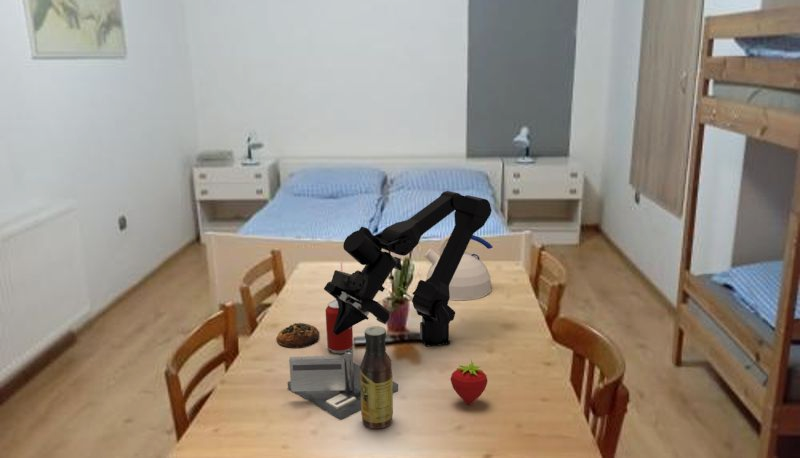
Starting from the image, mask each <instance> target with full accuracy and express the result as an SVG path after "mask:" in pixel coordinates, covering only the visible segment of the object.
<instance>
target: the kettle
mask: <svg viewBox="0 0 800 458" xmlns="http://www.w3.org/2000/svg"><path fill="white" fill-rule="evenodd" d="M450 235H451V233H449V234H448V235H446V236H444V238H443V239H442V240H441V241H440V244H439V247H438V251H439V252H438V253H439V254H437V252H435V251H434V250H433V249H432V248H429V249H428V250H427V252H425V254H424V257H423V258H426V260H427V261H429V262H430V263H431V264H432V265H431V266H430V267H429V269H428V271H427V274H426V280H427V279H429V278H430V277H431V275H432V273H433V271H434V269H435V267H436V265H437V263H438V261H439V259H440V256H441V254H442V252H443V250H444V248H445V246H446V244H447V242H448V240H449V237H450ZM470 240H473V241H476V242H478V243H479V244H481V245H482V246H484V247H486V248H487V249H488V250H490V249H492V248H493V247H494V246H493V244H491V243H490V242H489V241H487V240H485V239H484V238H481V237H479V236H478V235H477V236H476V235H474V234H473V235H472V237H471V239H470ZM480 258H481V257H480V256H479V255H477V254H475V253H470V252H466V251H465V252H464V254H463V256H462V259H461V261H460V263H459V265H458V267H457V269H456V271H455V273H454V276H453V278H452V280H451V282H450V284H449V294H450V298H449V301H472V300H477V299H480V298H483V297H486V296H487V295H489V294H490V293H491V291H492V282H491V275H490V273H489V272H490V271H489V269H488V267H487V266H486V264H485V263H484V262H483V261H482V260H481V259H480Z"/></svg>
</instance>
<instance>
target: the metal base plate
mask: <svg viewBox="0 0 800 458" xmlns="http://www.w3.org/2000/svg"><path fill="white" fill-rule="evenodd" d="M360 366H361V364H357V363H355V362H354V361H353V370H354V390H351V391H349V390H347V388H346V390H335V391H296V392H294V393H295V394H297V395H298V396H300V397H302V398H303V399H305V400H307V401H308V402H310V403H311V404H313V405H315V406H316V407H318V408H319V409H322V410H324V411H326V412H327V413H328V414H330V415H332V416H333V417H335V418H336V419H339V420H340V421H341V420H343V419H345V418H347V417H349V416H351V415H353V414H355V413H356V412H359V411H361V389H360ZM345 381H346V364H345ZM392 382H393V394H394V393H395V392H397V391H399V384H398V383H397V382H395V381H393V380H392ZM287 389H288V390H289V391H291V380H289V381H287ZM339 394H342V395H344V396H346V397H348V398H351V397H355V398H356V400H355V401H353V402H351V403H349V404H347V405H345V406H343V407H341V408H339V409H336V408H334V407H333V406H331V405H329V404H327V403H326V401H327V400H329V399H331V398H333V397H335V396H337V395H339Z"/></svg>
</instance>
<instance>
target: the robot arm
mask: <svg viewBox="0 0 800 458" xmlns="http://www.w3.org/2000/svg"><path fill="white" fill-rule="evenodd" d="M452 213H454V227H453V229H452V231H451V233H450V234H451V235H450V237H449V240H448V241H447V242H446V244H445V247H444V250H443V252H442V254H441V256H440V255H439V256H440V259H439V261H438V263H437V265H436V267H435V269H434V271H433V273H432V275H431V277H430V278H429V279H427V278H426V280H422V279H420V280H419V281H418V283H417V285H416V288H415V290H414V291H413V292H412V295H413V297H412V299H411V303H412V306H413V308H414V310H415V311H416V314H417V315H418V316H420V317H421V321H420V323H419V338H420V340H421V341H422V342H423V344H424V346H425V347H434V346H444V345H445V346H446V345H451V343H452V341H451V339H450V324H451V323H450V322H452V321H454V319H455V317H456V311H455V310H454V309H453V308H452V307H450V306H449V305H448V304H449V301H450V300H449V298H450V294H449V284H450V282H451V280H452V278H453V276H454V273H455V271H456V269H457V267H458V265H459V263H460V261H461V259H462V256H463V254H464V252H466V250H467V248H468V246H469V243H470V241H471V240H472V239H471V237H472V235H474V234H475V233H477V232H478V231H479V230H481V228H483V227H484V226H485V224H486V222H487V221H488V220H489V218H490V216H491V214H492V207H491V203H490V201H489V200H488V199H486V198H482V197H477V196H474V195H469V194H468V195H466V194H465V195H463V194H461V193H459V192H455V191H451V190H446V191H443V192H442V193H441V194H440V196H438V197H437V198H436V199H434V200H433V201H432V202H430V203H429V204H427V205H426V206H425V207H423V208H422V209H421V210H420V211H417V213H415V214H414V215H412V216H411V217H409V218H407V219H406V220H403V221H398V222H395V223H393V224H390V225H388V226H387V227H385V228H384V229H383V230H382V231H381V232H380V233H376V234H373V233H372V231H371V230H370V229H369V228H368V227H364V226H360V227H359V229H357V230H355V231H353V232H351V233H350V234H349V235H347V236H346V238H345V240H344V242H343V249H344V251H345V252H346V253H348V255H350V257H352V258H353V259H354V260H355V261H356V262H358V263H359V265H362V266H364V267H363V268H362V270H359V269H357V270H355V272H352V273H348V272H345V271H343V272H341V270H337V269H336V270H334V272H333V275H332V276H331V278H332V280H331V281H328V282H327V283H326V284H325V286H324V287H323V290H324V291H325V292H326V293H328V294H329V295H330V296H332V297H333V299H334V298H335V299H336V300H337V302H338V306H339V309H338V314H337V318H336V321H335V325H334V328H333V333H334V334H335V335H339V334H340V333H342V332H344V331H345V330H347V329H348V328H350V327H352V328H353V327H354V326H355V325H357V324H359V323H361V322H363V321H364V320H369V317H368V316H369V314H372V315H373V316H374V317H375V318H376V321H377V322H379V323H381V324H383V325H386V324H387V323H388V321H389V320H390V318H391V313H390V311H389V310H388V309H387V308H386V307H384V306H383V305H382V304H381V303H379V301H376V300H374V299H375V297H376V296H377V295H378V293H379V292H381V293H383V292H384V290H386V288H385V287H384V286H383V285H384V284H385V282H386V280H387V279H389V278H388V277H389V276H390V274H391V273H392V271H393V270H394V269H395V270H398V271H402V270H403V266H402V259H401V258H400V257H396V256H393V255H392V254H396V255H399V256H403V257H405V256H408V255H409V254H410V253H411V252H412V251H413V250H415V248H416V247H417V246H418V245H419V244H420V240H421V237H423V235H424V234H425V233H427V232H428V231H429V230H430V229H432V228H433V227H435V226H436V225H437V224H438V223H440V222H441V221H443V220H444V219H445V218H447V217H448V216H449V215H451V214H452ZM382 250H385V251H382ZM391 253H392V254H391Z"/></svg>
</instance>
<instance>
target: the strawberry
mask: <svg viewBox="0 0 800 458" xmlns="http://www.w3.org/2000/svg"><path fill="white" fill-rule="evenodd" d="M474 363H475V362H473V360H472V359H470V363H469V364H468V365H458V366H459V367H457V368H456V369H455V370H454V371H453V372H452V373H451V377H450V383H451V386H452V389H453V390H454V391H455V392H456V394H457V396H458V397H460V399H462V400H463V401H464V403H466V405H472V404H473V403H474V402H475V401H476V400H477V399H478V398H479V397H481V395H482V394H483V392H484V391H486V387H487V385H488V378H487V376H488V375H487V374H486V372H484V371H483V369H480V366H478V365H474Z"/></svg>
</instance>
